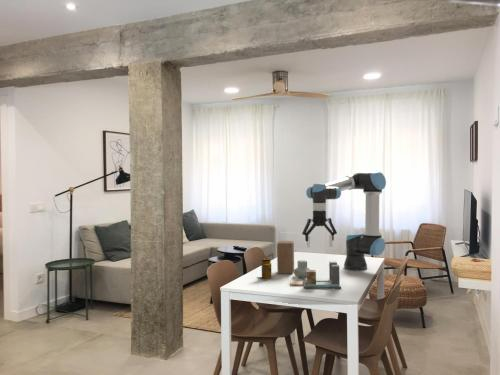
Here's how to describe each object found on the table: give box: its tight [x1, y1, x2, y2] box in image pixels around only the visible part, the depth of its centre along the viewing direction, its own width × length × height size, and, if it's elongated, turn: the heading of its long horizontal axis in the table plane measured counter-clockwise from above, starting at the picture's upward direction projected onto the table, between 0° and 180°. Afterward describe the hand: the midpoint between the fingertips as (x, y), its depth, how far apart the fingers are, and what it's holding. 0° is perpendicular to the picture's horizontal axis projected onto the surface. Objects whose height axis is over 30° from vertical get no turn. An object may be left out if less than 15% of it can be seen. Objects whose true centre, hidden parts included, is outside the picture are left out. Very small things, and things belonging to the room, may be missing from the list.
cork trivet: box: [290, 280, 304, 287], centre depth 240 cm, size 7×7×1 cm
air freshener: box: [293, 259, 311, 279], centre depth 258 cm, size 11×8×10 cm
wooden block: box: [276, 240, 295, 275], centre depth 271 cm, size 10×10×20 cm
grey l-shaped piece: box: [305, 264, 341, 286], centre depth 234 cm, size 18×6×12 cm, turn 86°
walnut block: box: [305, 269, 317, 284], centre depth 234 cm, size 5×5×7 cm
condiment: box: [256, 257, 275, 281], centre depth 256 cm, size 7×8×12 cm
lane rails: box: [302, 278, 342, 290], centre depth 238 cm, size 20×18×1 cm
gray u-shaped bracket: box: [304, 261, 338, 283], centre depth 243 cm, size 18×6×12 cm, turn 86°
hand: (319, 246), depth 242 cm, fingers open, 13 cm apart
